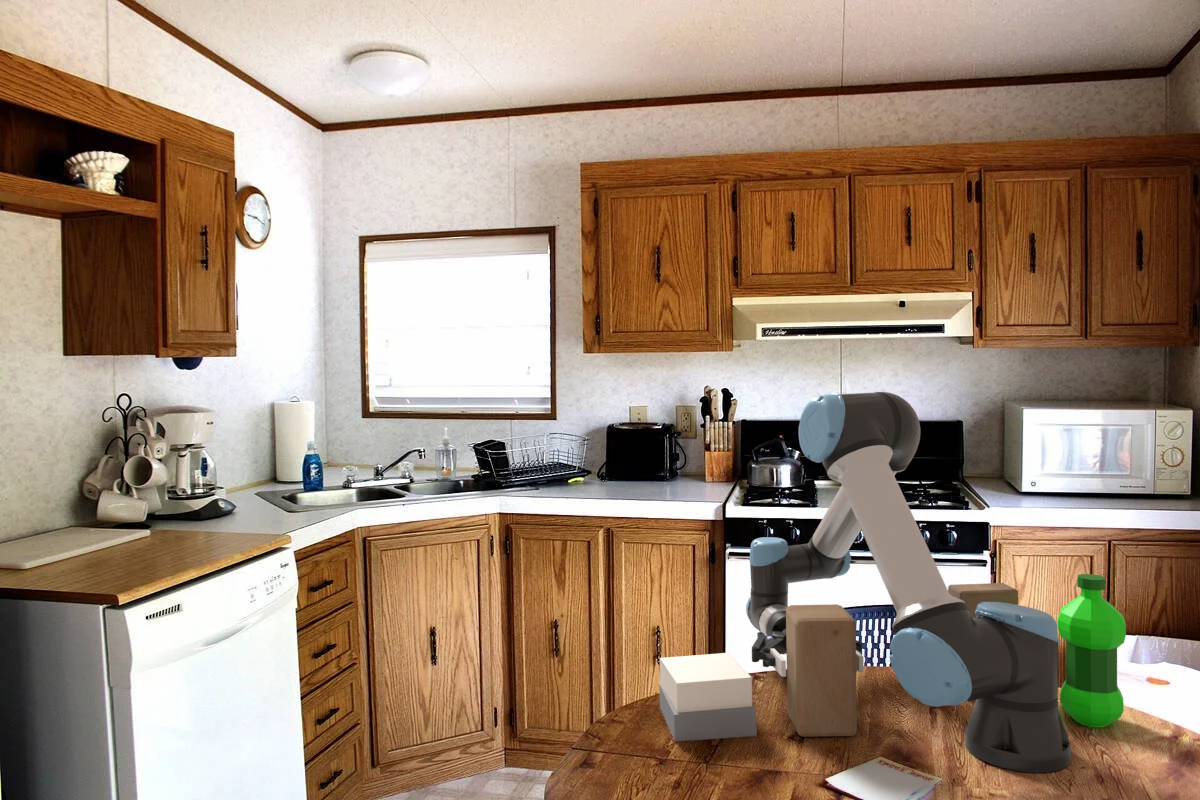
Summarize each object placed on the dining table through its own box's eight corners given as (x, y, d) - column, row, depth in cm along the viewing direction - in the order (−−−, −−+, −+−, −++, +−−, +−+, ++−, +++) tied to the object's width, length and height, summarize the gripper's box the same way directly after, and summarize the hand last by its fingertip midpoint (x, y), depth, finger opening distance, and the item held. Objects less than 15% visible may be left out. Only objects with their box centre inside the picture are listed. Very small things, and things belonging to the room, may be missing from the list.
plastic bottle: (1115, 739, 141) (1115, 587, 140) (1047, 720, 149) (1046, 577, 148) (1135, 721, 148) (1136, 576, 147) (1069, 704, 156) (1069, 567, 155)
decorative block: (960, 699, 159) (959, 591, 159) (947, 687, 165) (946, 584, 164) (1020, 697, 160) (1019, 590, 159) (1005, 686, 165) (1004, 582, 165)
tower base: (756, 738, 146) (756, 709, 146) (674, 744, 144) (674, 714, 144) (734, 706, 160) (734, 679, 160) (659, 711, 158) (659, 684, 158)
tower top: (752, 706, 147) (751, 677, 147) (677, 712, 145) (676, 683, 145) (729, 679, 160) (728, 652, 159) (660, 685, 158) (659, 657, 157)
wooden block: (858, 738, 144) (857, 619, 143) (798, 739, 144) (796, 620, 143) (842, 714, 154) (841, 602, 153) (786, 714, 154) (784, 603, 153)
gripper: (846, 645, 170) (893, 684, 148) (721, 651, 167) (751, 692, 146) (845, 607, 169) (893, 640, 148) (720, 613, 167) (750, 648, 146)
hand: (822, 666), depth 147 cm, fingers open, 13 cm apart
